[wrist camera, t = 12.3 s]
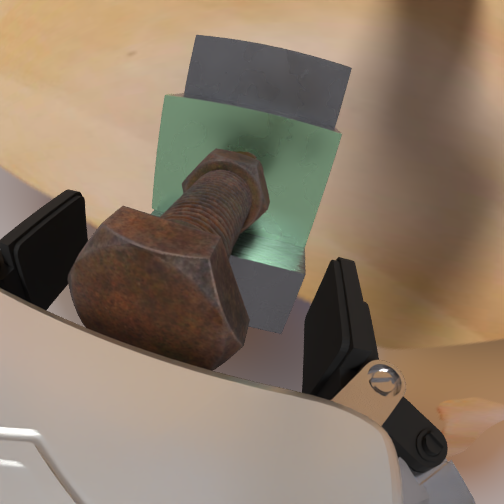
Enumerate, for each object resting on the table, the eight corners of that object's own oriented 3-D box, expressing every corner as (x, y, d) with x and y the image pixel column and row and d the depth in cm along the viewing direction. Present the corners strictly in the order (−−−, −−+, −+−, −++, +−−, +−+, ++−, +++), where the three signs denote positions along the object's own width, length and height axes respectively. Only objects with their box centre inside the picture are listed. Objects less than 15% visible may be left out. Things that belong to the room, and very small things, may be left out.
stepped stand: (204, 39, 22) (155, 20, 13) (344, 69, 22) (375, 62, 13) (173, 233, 32) (132, 294, 23) (286, 261, 32) (281, 333, 24)
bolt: (286, 202, 21) (254, 387, 9) (219, 215, 23) (124, 381, 10) (266, 122, 19) (182, 207, 6) (195, 140, 20) (38, 246, 7)
